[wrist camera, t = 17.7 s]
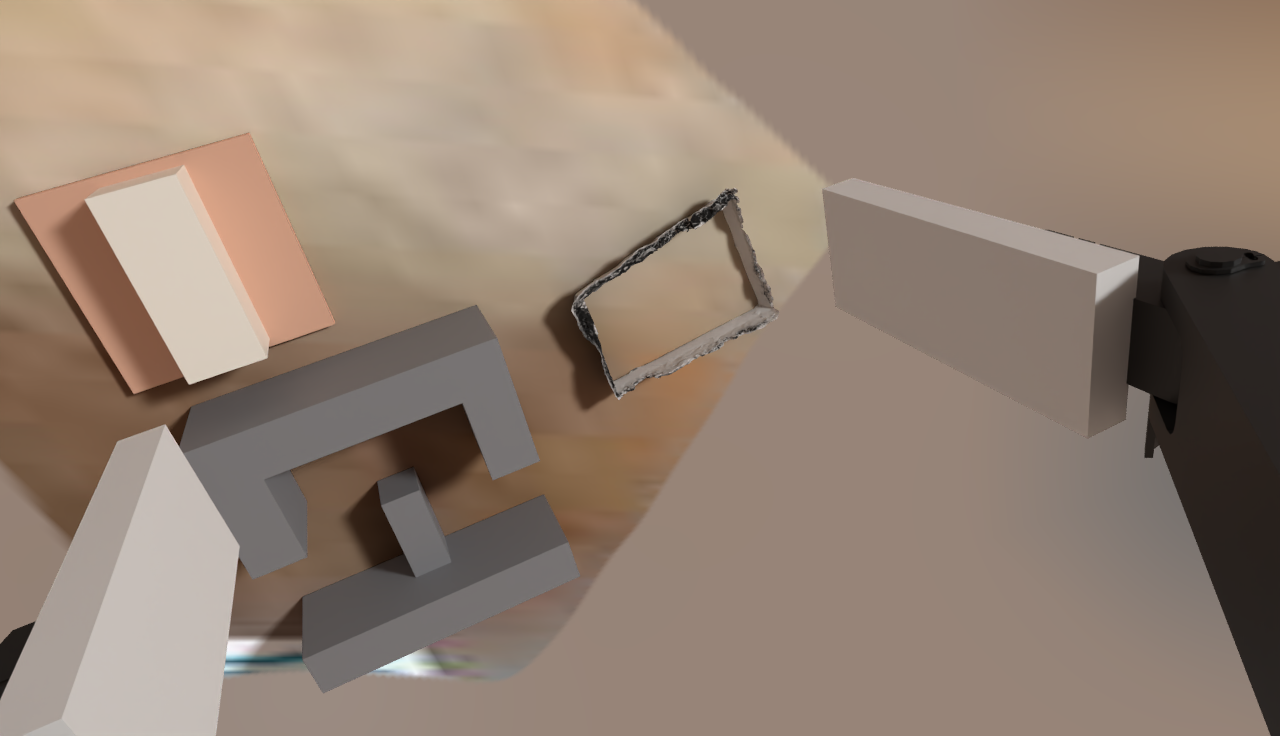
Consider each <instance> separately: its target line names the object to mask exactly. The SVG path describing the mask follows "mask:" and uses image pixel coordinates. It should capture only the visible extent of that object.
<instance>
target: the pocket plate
mask: <svg viewBox="0 0 1280 736" xmlns="http://www.w3.org/2000/svg"><path fill="white" fill-rule="evenodd" d="M459 404H462V406H463V408H464V411H465V413H466V416H467V419H468V421H469V424H470V426H471V429H472V431H473V434H474V436H475V439H476V441H477V444H478V446H479V448H480V451H481V453H482V456H483V458H484V460H485V463H486V465H487V468H488V470H489V472H490V475H491V477H492V480H495V479H497V478H500V477H502V476H505V475H507V474H509V473H512V472H514V471H517V470H519V469H522V468H524V467H526V466H529V465H531V464H534V463H536V462H538V461H540V460H539V457H538V454H537V451H536V448H535V445H534V442H533V440H532V437H531V434H530V431H529V428H528V425H527V422H526V420H525V417H524V414H523V411H522V408H521V405H520V402H519V400H518V397H517V394H516V391H515V388H514V385H513V382H512V379H511V377H510V374H509V371H508V368H507V365H506V362H505V359H504V357H503V354H502V351H501V348H500V345H499V342H498V339H497V337H496V335H495V334H494V332H493V331H492V329H491V327H490V326H489V324H488V323H487V321H486V319H485V318H484V316H483V314H482V313H481V311H480V310H479V308H478V306H477V305H475V306H472V307H469V308H467V309H464V310H461V311H458V312H455V313H453V314H450V315H447V316H444V317H441V318H438V319H436V320H433V321H430V322H427V323H424V324H422V325H419V326H416V327H413V328H410V329H408V330H405V331H402V332H399V333H396V334H394V335H391V336H388V337H385V338H382V339H380V340H377V341H374V342H371V343H368V344H366V345H363V346H360V347H357V348H354V349H352V350H349V351H346V352H343V353H340V354H338V355H335V356H332V357H329V358H326V359H324V360H321V361H318V362H315V363H312V364H310V365H307V366H304V367H301V368H298V369H295V370H293V371H290V372H287V373H284V374H281V375H279V376H276V377H273V378H270V379H267V380H265V381H262V382H259V383H256V384H253V385H251V386H248V387H245V388H242V389H239V390H237V391H234V392H231V393H228V394H225V395H223V396H220V397H217V398H214V399H211V400H209V401H206V402H203V403H200V404H197V405H195V406H192V407H191V409H190V413H189V416H188V419H187V423H186V426H185V429H184V433H183V436H182V439H181V443H180V446H179V448H180V449H181V451H182V452H183V454H184V456H185V457H186V459H187V461H188V462H189V464H190V466H191V467H192V469H193V470H194V472H195V474H196V475H197V477H198V479H199V480H200V482H201V484H202V485H203V487H204V489H205V490H206V492H207V493H208V495H209V497H210V498H211V500H212V502H213V503H214V505H215V507H216V508H217V510H218V511H219V513H220V515H221V516H222V518H223V520H224V521H225V523H226V525H227V526H228V528H229V529H230V531H231V533H232V534H233V536H234V538H235V539H236V541H237V543H238V544H239V546H240V548H239V558H240V560H241V561H242V563H243V564H244V566H245V568H246V569H247V571H248V573H249V574H250V576H251V577H252V579H255V578H258V577H260V576H263V575H265V574H268V573H270V572H272V571H275V570H277V569H280V568H282V567H284V566H287V565H289V564H292V563H294V562H297V561H299V560H301V559H304V558H306V557H307V501H306V499H305V497H304V495H303V494H302V492H301V490H300V488H299V486H298V484H297V482H296V481H295V479H294V477H293V475H292V473H291V471H290V469H293V468H296V467H298V466H301V465H303V464H306V463H308V462H311V461H314V460H316V459H319V458H321V457H324V456H327V455H329V454H332V453H334V452H337V451H340V450H342V449H345V448H347V447H350V446H353V445H355V444H358V443H360V442H363V441H366V440H368V439H371V438H373V437H376V436H379V435H381V434H384V433H386V432H389V431H391V430H394V429H397V428H399V427H402V426H404V425H407V424H410V423H412V422H415V421H417V420H420V419H423V418H425V417H428V416H430V415H433V414H436V413H438V412H441V411H443V410H446V409H449V408H451V407H454V406H456V405H459ZM377 483H378V489H379V495H380V501H381V506H382V508H383V510H384V512H385V515H386V517H387V519H388V521H389V523H390V525H391V527H392V529H393V531H394V533H395V535H396V537H397V539H398V541H399V543H400V546H401V548H402V550H403V552H404V554H402V555H400V556H398V557H395V558H393V559H391V560H388V561H386V562H384V563H381V564H379V565H377V566H374V567H372V568H370V569H367V570H365V571H362V572H360V573H358V574H355V575H353V576H351V577H348V578H346V579H344V580H341V581H339V582H337V583H334V584H332V585H329V586H327V587H325V588H322V589H320V590H318V591H315V592H313V593H311V594H308V595H306V596H304V597H303V627H302V660H303V662H304V663H305V665H306V666H307V668H308V670H309V671H310V673H311V675H312V676H313V678H314V679H315V681H316V683H317V684H318V686H319V688H320V689H321V691H322V692H323V693H325V692H327V691H329V690H332V689H334V688H336V687H338V686H340V685H342V684H345V683H347V682H349V681H351V680H353V679H356V678H358V677H360V676H362V675H365V674H367V673H369V672H371V671H373V670H376V669H378V668H380V667H382V666H384V665H387V664H389V663H391V662H393V661H395V660H397V659H400V658H402V657H404V656H406V655H408V654H411V653H413V652H415V651H417V650H419V649H422V648H424V647H426V646H428V645H430V644H433V643H435V642H437V641H439V640H441V639H444V638H446V637H448V636H450V635H452V634H455V633H457V632H459V631H461V630H463V629H465V628H468V627H470V626H472V625H474V624H476V623H479V622H481V621H483V620H485V619H487V618H490V617H492V616H494V615H496V614H498V613H501V612H503V611H505V610H507V609H509V608H512V607H514V606H516V605H518V604H520V603H522V602H525V601H527V600H529V599H531V598H533V597H536V596H538V595H540V594H542V593H544V592H547V591H549V590H551V589H553V588H555V587H558V586H560V585H562V584H564V583H566V582H569V581H571V580H573V579H575V578H577V577H580V574H579V571H578V569H577V566H576V563H575V560H574V557H573V554H572V551H571V548H570V546H569V543H568V541H567V539H566V537H565V535H564V533H563V531H562V529H561V527H560V525H559V523H558V521H557V519H556V517H555V515H554V513H553V511H552V509H551V507H550V505H549V504H548V502H547V500H546V498H545V496H544V495H541V496H539V497H537V498H534V499H532V500H530V501H527V502H525V503H523V504H520V505H518V506H516V507H513V508H511V509H508V510H506V511H504V512H501V513H499V514H497V515H494V516H492V517H490V518H487V519H485V520H483V521H480V522H478V523H475V524H473V525H471V526H468V527H466V528H464V529H461V530H459V531H457V532H454V533H452V534H450V535H447V536H444V534H443V532H442V530H441V527H440V525H439V523H438V521H437V518H436V516H435V514H434V512H433V509H432V507H431V505H430V503H429V500H428V498H427V496H426V494H425V491H424V489H423V487H422V485H421V482H420V480H419V478H418V476H417V473H416V471H415V469H414V467H412V468H409V469H407V470H404V471H402V472H399V473H397V474H394V475H392V476H389V477H387V478H384V479H382V480H379V481H377Z"/></svg>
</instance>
